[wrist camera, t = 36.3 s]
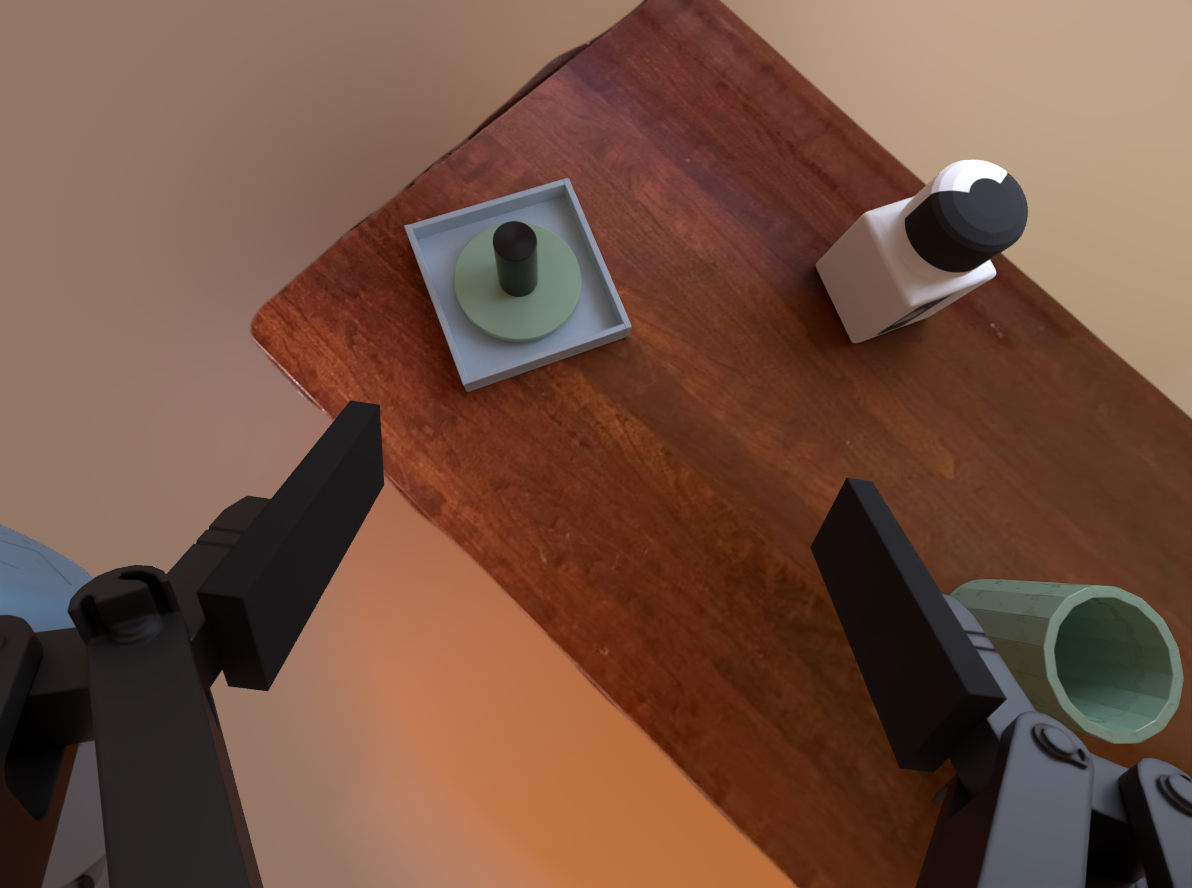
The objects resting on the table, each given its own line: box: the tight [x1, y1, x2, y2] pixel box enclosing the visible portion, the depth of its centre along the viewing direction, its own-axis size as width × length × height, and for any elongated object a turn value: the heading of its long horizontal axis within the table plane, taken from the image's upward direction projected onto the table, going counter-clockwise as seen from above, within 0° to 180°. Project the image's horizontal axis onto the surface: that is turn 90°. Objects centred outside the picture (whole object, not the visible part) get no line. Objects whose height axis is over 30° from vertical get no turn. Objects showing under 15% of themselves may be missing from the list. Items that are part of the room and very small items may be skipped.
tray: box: [404, 178, 632, 392], centre depth 44 cm, size 14×14×2 cm
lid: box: [454, 221, 582, 342], centre depth 41 cm, size 10×10×7 cm
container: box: [816, 160, 1028, 343], centre depth 42 cm, size 8×8×13 cm
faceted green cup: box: [950, 579, 1183, 744], centre depth 39 cm, size 9×9×10 cm
